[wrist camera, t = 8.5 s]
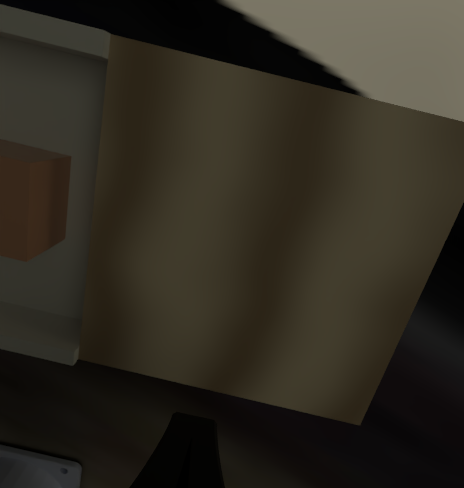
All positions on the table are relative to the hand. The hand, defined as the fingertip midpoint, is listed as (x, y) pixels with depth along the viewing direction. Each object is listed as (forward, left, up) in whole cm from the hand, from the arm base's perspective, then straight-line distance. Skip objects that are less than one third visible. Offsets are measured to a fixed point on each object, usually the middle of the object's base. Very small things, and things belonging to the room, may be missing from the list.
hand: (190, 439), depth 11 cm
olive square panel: (+1, +4, -8) cm, 9 cm away
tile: (-10, +5, -7) cm, 13 cm away
